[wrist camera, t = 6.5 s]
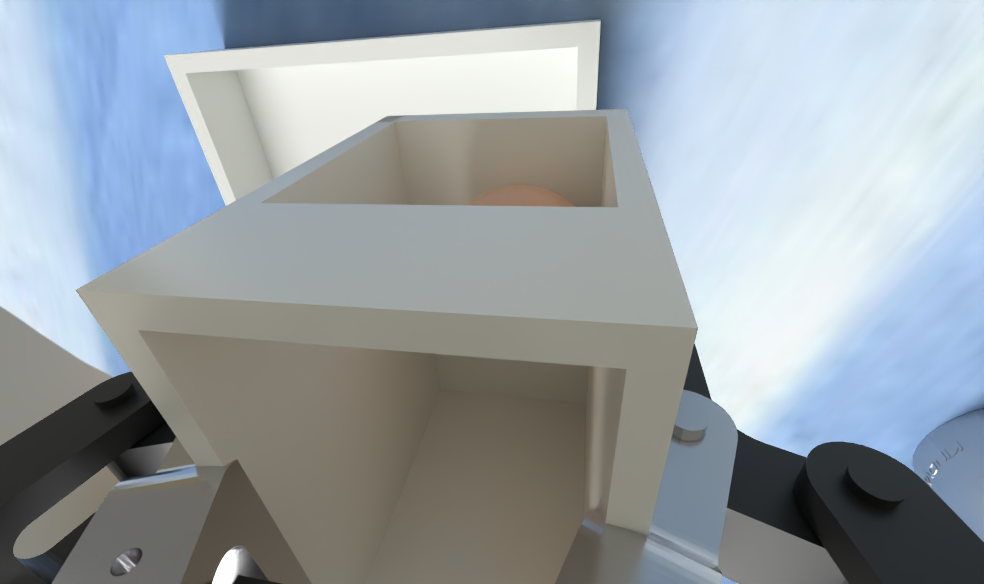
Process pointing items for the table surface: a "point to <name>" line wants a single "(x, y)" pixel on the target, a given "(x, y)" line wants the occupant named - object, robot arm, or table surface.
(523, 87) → the tray
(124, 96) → the table surface
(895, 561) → the robot arm
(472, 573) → the open box
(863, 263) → the table surface
